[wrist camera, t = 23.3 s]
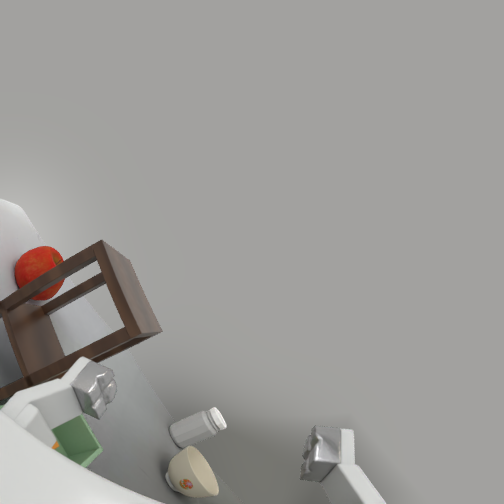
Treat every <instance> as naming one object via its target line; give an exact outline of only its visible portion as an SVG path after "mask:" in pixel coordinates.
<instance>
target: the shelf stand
mask: <svg viewBox="0 0 504 504" xmlns="http://www.w3.org/2000/svg"><path fill="white" fill-rule="evenodd" d="M96 260H97V261H98V264H99V266H100V269H101V271H102V272H101V273H99V274H97V275H96V276H94V277H92V278H90V279H88V280H87V281H85V282H83V283H81V284H80V285H78V286H76V287H74V288H72V289H71V290H69V291H67V292H65V293H64V294H62V295H60V296H58V297H57V298H55V299H53V300H51V301H50V302H48V303H46V304H45V305H43V306H37V305H31V304H25V302H27V301H28V300H30V299H31V298H33V297H35V296H36V295H38V294H40V293H41V292H43V291H45V290H46V289H48V288H50V287H51V286H53V285H55V284H56V283H58V282H60V281H61V280H63V279H65V278H67V277H68V276H70V275H72V274H73V273H75V272H77V271H79V270H80V269H82V268H84V267H86V266H87V265H89V264H91V263H93V262H95V261H96ZM104 284H107V287H108V289H109V291H110V294H111V296H112V298H113V301H114V303H115V306H116V308H117V310H118V312H119V314H120V317H121V319H122V321H123V323H124V325H125V327H124V328H122V329H120V330H118V331H116V332H114V333H112V334H110V335H108V336H106V337H104V338H102V339H100V340H98V341H96V342H94V343H92V344H90V345H88V346H86V347H84V348H82V349H80V350H78V351H76V352H74V353H72V354H70V355H68V356H66V357H65V355H64V352H63V350H62V348H61V345H60V343H59V340H58V338H57V335H56V333H55V330H54V328H53V325H52V322H51V320H50V317H49V315H50V314H52V313H53V312H55V311H57V310H59V309H60V308H62V307H64V306H66V305H68V304H69V303H71V302H73V301H75V300H76V299H78V298H80V297H82V296H84V295H86V294H87V293H89V292H91V291H93V290H95V289H97V288H98V287H100V286H102V285H104ZM1 317H3V321H4V324H5V327H6V330H7V333H8V337H9V339H10V342H11V345H12V348H13V351H14V354H15V356H16V359H17V362H18V364H19V367H20V369H21V372H22V374H23V376H24V377H23V378H21V379H19V380H17V381H15V382H13V383H11V384H9V385H7V386H5V387H3V388H1V389H0V401H2V400H5V399H7V398H10V397H12V396H13V395H14V394H15V393H16V392H18V391H21V390H24V389H27V388H30V387H34V386H37V385H40V384H43V383H46V382H49V381H52V380H55V379H57V378H58V379H61V378H62V377H63V376H64V375H65V374H66V372H67V371H68V370H69V369H70V368H71V367H72V366H73V365H74V363H75V362H76V361H77V360H78V359H79V358H81V357H85V358H87V359H89V360H92V361H94V362H96V363H99V362H101V361H103V360H105V359H107V358H109V357H112V356H114V355H116V354H118V353H120V352H122V351H124V350H126V349H128V348H130V347H132V346H134V345H136V344H138V343H140V342H142V341H144V340H147V339H149V338H150V337H153V336H155V335H157V334H158V333H161V332H162V329H161V327H160V325H159V323H158V321H157V319H156V317H155V315H154V313H153V311H152V308H151V306H150V304H149V302H148V300H147V298H146V296H145V294H144V291H143V290H142V287H141V285H140V283H139V280H138V278H137V276H136V273H135V271H134V269H133V267H132V264H131V262H130V260H128V259H127V258H125V257H124V256H123V255H122V254H120V253H119V252H118V251H116V250H115V249H114V248H112V247H111V246H110V245H108V244H107V243H106V242H104V241H103V240H100V241H98V242H97V243H95V244H93V245H91V246H89V247H88V248H86V249H84V250H82V251H81V252H79V253H77V254H75V255H74V256H72V257H70V258H69V259H67V260H65V261H63V262H62V263H60V264H58V265H57V266H55V267H53V268H52V269H50V270H49V271H47V272H45V273H44V274H42V275H40V276H39V277H37V278H36V279H34V280H33V281H31V282H29V283H28V284H26V285H25V286H23V287H22V288H20V289H19V290H17V291H15V292H14V293H12V294H11V295H9V296H8V297H6V298H5V299H4V300H2V301H1V302H0V318H1Z"/></svg>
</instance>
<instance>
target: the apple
mask: <svg viewBox="0 0 504 504" xmlns="http://www.w3.org/2000/svg"><path fill="white" fill-rule="evenodd" d="M62 262H63V258H62V256H61V255H60V253H59V252H58V251H57V250H55V249H54V248H52V247H48V246H42V247H37V248H35V249H32V250H29V251H28V252H26V253H25V254H23V255H22V256H21V257H20V259H19V260H18V261H17V263H16V266H15V278H16V281H17V284H18V286H19V288H22V287H23V286H25V285H26V284H28V283H29V282H31V281H33V280H34V279H36V278H37V277H39V276H40V275H42V274H44V273H45V272H47V271H49V270H50V269H52V268H53V267H55V266H57V265H58V264H60V263H62ZM64 280H65V279H63V280H61V281H60V282H58V283H56V284H55V285H53V286H51V287H50V288H48V289H46V290H45V291H43V292H41V293H40V294H38V295H36V296H35V297H33V298H31V299H33V300H47V299H50V298H52V297H53V296H54V295H55V294H56V293H57V292H58V290H59V289H60V288H61V286H62V285H63V282H64Z"/></svg>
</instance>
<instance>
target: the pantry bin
mask: <svg viewBox="0 0 504 504" xmlns="http://www.w3.org/2000/svg"><path fill="white" fill-rule="evenodd" d="M3 406H4V405H2V406H0V410H1V409H2V407H3ZM51 431H52V432H53V434H54V436H55V437H56V440H57V442H58V444H59V447H57V448H56V449H54V450H56V451H57V452H59V453H60V454H62V455H64V456H65V457H67V458H69V459H70V460H72V461H74V462H75V463H77V464H79V465H81V466H82V467H84V468H86V467H87V466H88V465H89V464H90V463H91V462H92V461H93V460H94V459H95V458H96V457H97V456H98V455H99V454H100V453H101V452H102V451H103V448H102V447H101V445H100V444H99V442H98V440H97V439H96V437H95V435H94V434H93V432H92V430H91V429H90V427H89V425H88V424H87V422H86V420H85V418H84V417H83V415H82V414H81V415H79V416H77V417H75V418H73V419H71V420H69V421H67V422H65V423H63V424H61V425H59V426H57V427H55V428H53V429H51Z"/></svg>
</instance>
